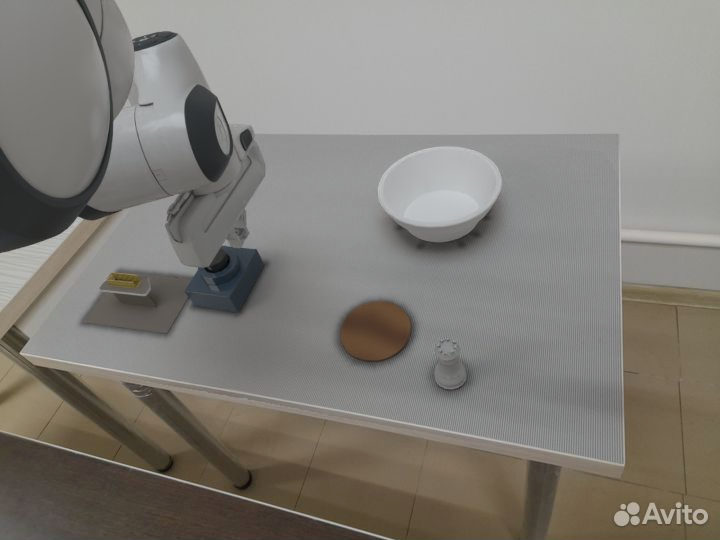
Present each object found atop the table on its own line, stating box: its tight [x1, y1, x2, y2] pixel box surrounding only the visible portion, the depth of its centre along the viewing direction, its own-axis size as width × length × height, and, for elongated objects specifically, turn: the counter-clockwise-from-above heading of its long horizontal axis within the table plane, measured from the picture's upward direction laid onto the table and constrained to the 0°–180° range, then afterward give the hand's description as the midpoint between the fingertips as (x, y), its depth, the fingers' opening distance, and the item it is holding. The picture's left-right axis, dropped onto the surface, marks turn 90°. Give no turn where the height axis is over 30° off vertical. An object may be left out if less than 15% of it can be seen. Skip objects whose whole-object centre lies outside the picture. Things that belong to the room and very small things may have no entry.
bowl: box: [376, 145, 503, 243], centre depth 92 cm, size 21×21×8 cm
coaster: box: [340, 300, 412, 363], centre depth 81 cm, size 11×11×1 cm
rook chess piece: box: [433, 336, 468, 390], centre depth 70 cm, size 4×4×8 cm
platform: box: [83, 271, 192, 334], centre depth 93 cm, size 12×18×7 cm, turn 75°
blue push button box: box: [185, 245, 265, 314], centre depth 91 cm, size 11×9×6 cm
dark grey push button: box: [206, 248, 229, 273], centre depth 89 cm, size 4×4×2 cm
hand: (240, 241), depth 76 cm, fingers closed
